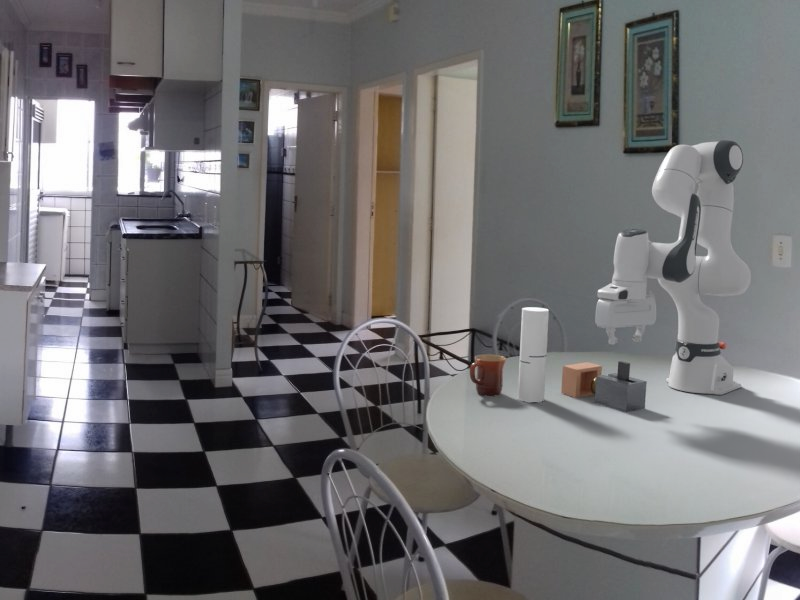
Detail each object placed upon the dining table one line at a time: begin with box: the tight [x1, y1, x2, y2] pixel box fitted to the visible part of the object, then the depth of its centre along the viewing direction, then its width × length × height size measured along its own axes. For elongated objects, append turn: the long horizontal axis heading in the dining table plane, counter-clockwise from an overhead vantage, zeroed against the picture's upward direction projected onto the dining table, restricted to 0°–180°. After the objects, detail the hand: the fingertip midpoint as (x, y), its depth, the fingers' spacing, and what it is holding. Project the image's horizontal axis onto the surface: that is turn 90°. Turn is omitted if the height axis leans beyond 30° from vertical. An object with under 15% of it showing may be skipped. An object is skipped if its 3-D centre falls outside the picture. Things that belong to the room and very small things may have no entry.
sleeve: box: [594, 372, 647, 413], centre depth 215 cm, size 7×11×7 cm
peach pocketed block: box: [560, 361, 603, 399], centre depth 227 cm, size 10×5×8 cm, turn 124°
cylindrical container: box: [517, 306, 550, 403], centre depth 218 cm, size 7×7×25 cm
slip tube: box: [590, 360, 631, 395], centre depth 217 cm, size 5×12×11 cm, turn 34°
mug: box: [469, 354, 507, 397], centre depth 223 cm, size 12×9×10 cm
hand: (624, 342), depth 213 cm, fingers open, 8 cm apart
